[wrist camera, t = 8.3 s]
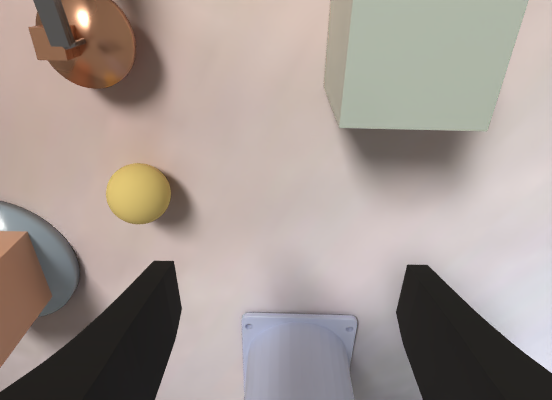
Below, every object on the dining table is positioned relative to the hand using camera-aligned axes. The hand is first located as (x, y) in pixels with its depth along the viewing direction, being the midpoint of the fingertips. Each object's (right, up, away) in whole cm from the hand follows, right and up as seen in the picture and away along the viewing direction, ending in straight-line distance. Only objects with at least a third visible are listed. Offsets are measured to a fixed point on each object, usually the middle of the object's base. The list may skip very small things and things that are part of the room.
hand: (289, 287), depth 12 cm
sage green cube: (+5, +10, +5) cm, 13 cm away
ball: (-8, +4, +9) cm, 13 cm away
